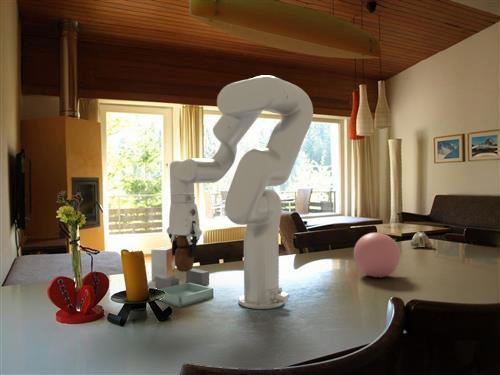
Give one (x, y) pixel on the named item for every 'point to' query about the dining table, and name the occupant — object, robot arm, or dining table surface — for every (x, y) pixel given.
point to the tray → (186, 294)
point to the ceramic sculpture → (421, 240)
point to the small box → (162, 262)
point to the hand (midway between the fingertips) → (184, 255)
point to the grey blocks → (191, 277)
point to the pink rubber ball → (376, 255)
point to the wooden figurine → (183, 255)
